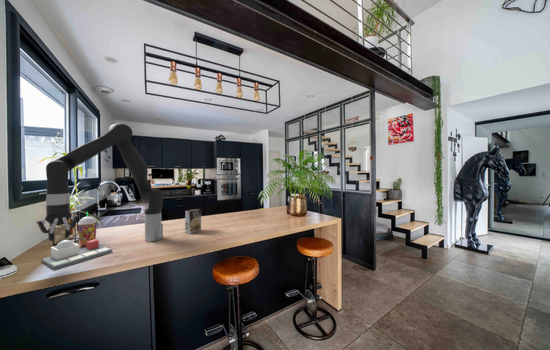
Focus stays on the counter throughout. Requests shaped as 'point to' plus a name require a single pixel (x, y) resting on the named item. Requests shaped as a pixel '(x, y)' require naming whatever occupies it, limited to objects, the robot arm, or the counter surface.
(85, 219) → the smoothie
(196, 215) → the coffee box
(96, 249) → the game board
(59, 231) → the tan block
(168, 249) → the counter surface
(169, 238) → the counter surface
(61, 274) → the counter surface
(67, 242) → the dome
